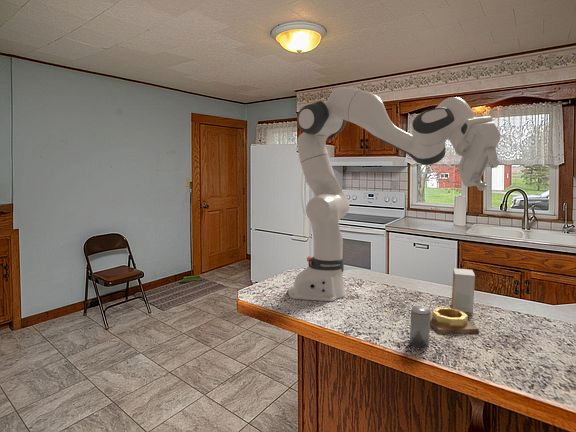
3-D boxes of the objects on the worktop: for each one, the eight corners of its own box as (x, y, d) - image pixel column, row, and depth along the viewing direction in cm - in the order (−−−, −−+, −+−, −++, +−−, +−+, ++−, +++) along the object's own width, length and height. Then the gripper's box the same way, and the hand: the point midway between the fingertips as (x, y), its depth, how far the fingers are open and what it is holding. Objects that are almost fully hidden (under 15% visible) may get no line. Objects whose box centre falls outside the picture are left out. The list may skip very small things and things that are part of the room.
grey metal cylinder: (413, 347, 97) (415, 312, 96) (407, 339, 102) (408, 305, 101) (431, 347, 97) (433, 312, 96) (424, 338, 102) (426, 305, 101)
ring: (441, 327, 107) (441, 319, 107) (428, 315, 116) (428, 307, 116) (471, 327, 107) (472, 319, 107) (456, 315, 116) (457, 307, 116)
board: (438, 333, 106) (438, 329, 105) (422, 317, 117) (422, 313, 117) (478, 333, 106) (479, 329, 106) (458, 316, 118) (459, 313, 118)
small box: (451, 302, 131) (453, 267, 129) (470, 305, 128) (473, 269, 127) (452, 310, 123) (454, 273, 122) (473, 313, 121) (475, 275, 119)
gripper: (449, 166, 111) (465, 202, 104) (468, 115, 95) (489, 153, 87) (469, 163, 111) (487, 199, 103) (492, 111, 94) (516, 149, 86)
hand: (489, 178), depth 95 cm, fingers open, 8 cm apart
